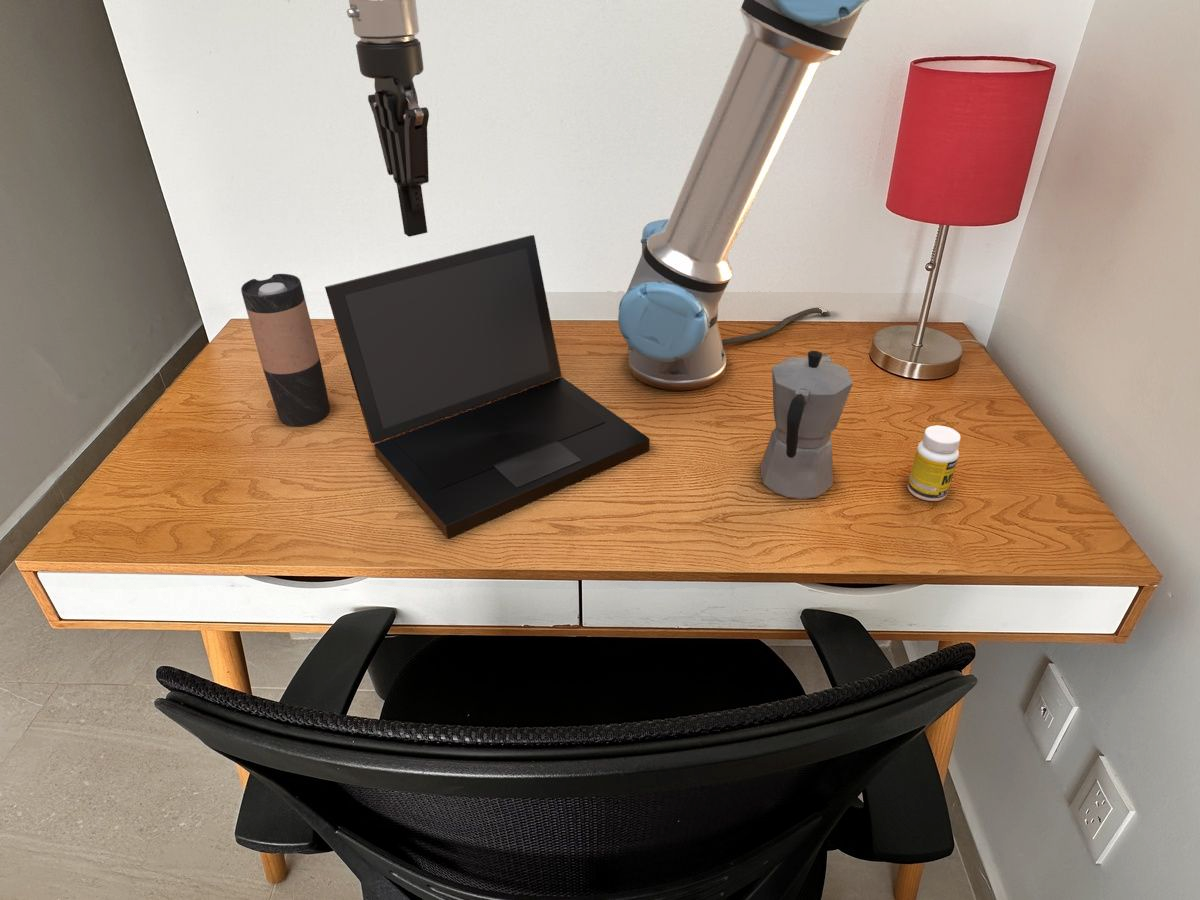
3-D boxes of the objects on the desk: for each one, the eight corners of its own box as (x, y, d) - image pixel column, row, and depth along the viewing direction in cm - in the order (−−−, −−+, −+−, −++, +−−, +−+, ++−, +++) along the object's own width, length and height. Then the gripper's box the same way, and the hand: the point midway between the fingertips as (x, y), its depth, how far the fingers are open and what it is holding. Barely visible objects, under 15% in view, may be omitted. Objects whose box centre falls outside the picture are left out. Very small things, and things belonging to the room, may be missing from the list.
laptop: (649, 450, 106) (649, 437, 105) (448, 539, 92) (445, 525, 91) (562, 388, 121) (562, 376, 119) (376, 456, 106) (373, 443, 105)
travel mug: (316, 430, 112) (282, 298, 100) (267, 425, 113) (227, 293, 102) (341, 402, 118) (311, 275, 106) (294, 398, 119) (260, 271, 108)
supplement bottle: (942, 507, 96) (959, 449, 91) (902, 494, 98) (917, 437, 93) (951, 486, 99) (967, 430, 94) (912, 474, 101) (927, 419, 96)
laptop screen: (534, 235, 112) (530, 235, 112) (327, 287, 97) (324, 286, 98) (562, 376, 119) (558, 375, 120) (373, 444, 105) (370, 442, 106)
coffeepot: (772, 443, 108) (788, 321, 97) (842, 459, 104) (867, 335, 94) (739, 508, 96) (754, 378, 86) (817, 529, 93) (842, 396, 83)
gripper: (336, 35, 97) (370, 226, 110) (379, 47, 88) (410, 253, 101) (394, 29, 100) (420, 215, 113) (441, 41, 91) (463, 240, 105)
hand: (415, 233), depth 107 cm, fingers closed
